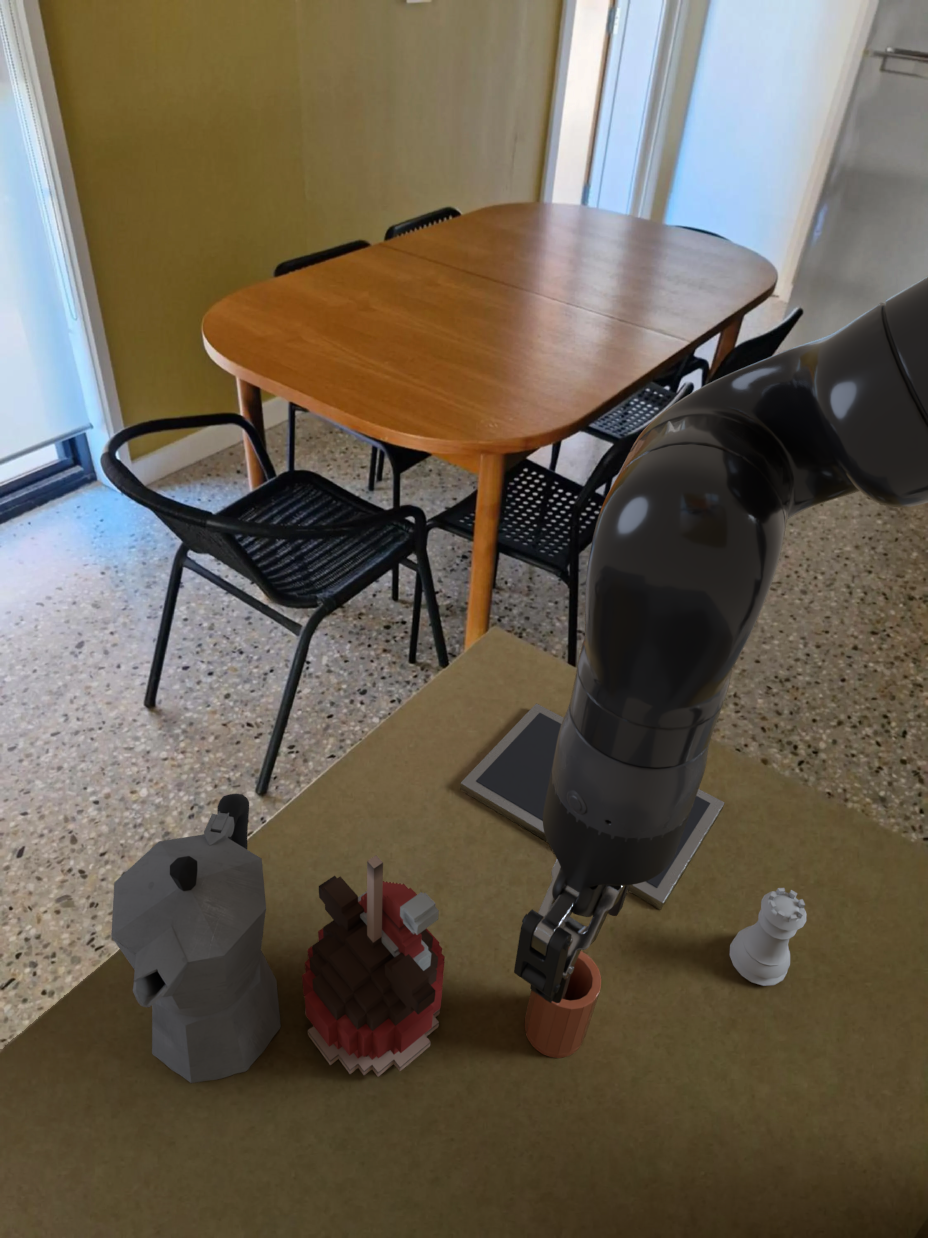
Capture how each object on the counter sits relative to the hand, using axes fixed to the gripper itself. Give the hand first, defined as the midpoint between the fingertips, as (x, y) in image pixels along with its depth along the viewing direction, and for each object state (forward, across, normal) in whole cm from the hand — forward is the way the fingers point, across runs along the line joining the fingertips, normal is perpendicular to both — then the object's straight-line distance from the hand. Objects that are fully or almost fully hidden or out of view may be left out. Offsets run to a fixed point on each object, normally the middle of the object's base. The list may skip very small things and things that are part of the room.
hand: (576, 946), depth 57 cm
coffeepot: (+11, -13, +20) cm, 26 cm away
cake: (+11, -7, +11) cm, 17 cm away
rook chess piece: (+11, +14, -10) cm, 20 cm away
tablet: (+11, +20, +8) cm, 24 cm away
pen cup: (+11, 0, 0) cm, 11 cm away
